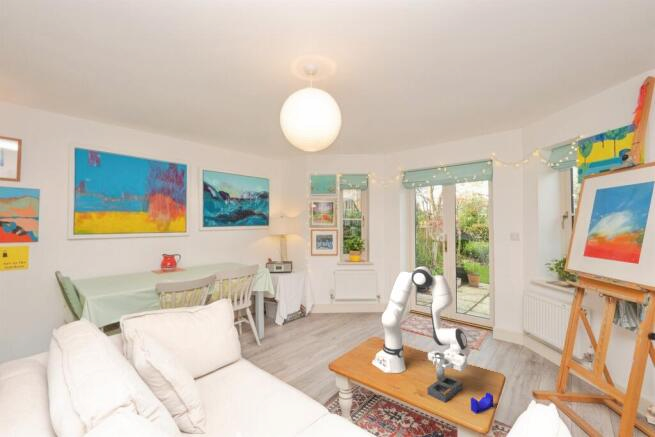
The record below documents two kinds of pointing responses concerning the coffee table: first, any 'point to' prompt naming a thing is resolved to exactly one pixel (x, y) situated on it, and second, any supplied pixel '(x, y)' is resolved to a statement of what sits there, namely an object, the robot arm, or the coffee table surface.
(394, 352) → the robot arm
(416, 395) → the coffee table surface
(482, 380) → the coffee table surface
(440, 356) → the steel bushing
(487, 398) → the cable clip
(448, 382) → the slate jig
